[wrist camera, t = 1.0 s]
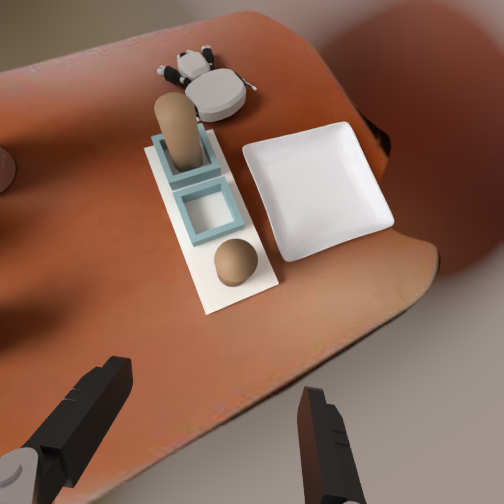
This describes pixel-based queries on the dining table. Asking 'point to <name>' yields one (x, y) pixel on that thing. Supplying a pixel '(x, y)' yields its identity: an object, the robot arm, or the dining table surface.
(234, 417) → the dining table surface
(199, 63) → the robot toy
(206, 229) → the base board
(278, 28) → the dining table surface
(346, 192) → the salad plate
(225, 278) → the walnut column
